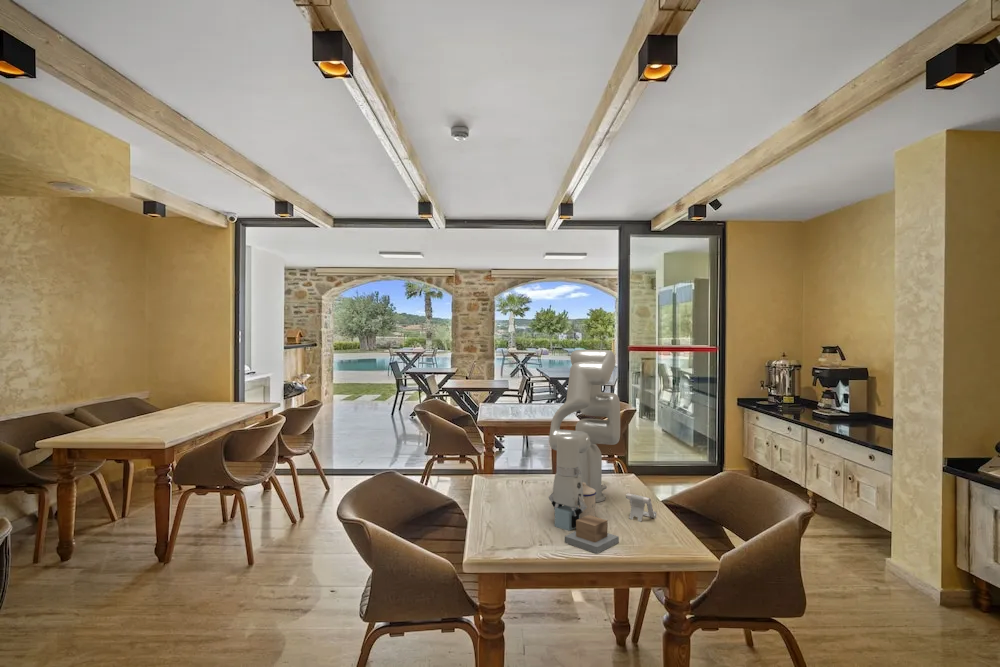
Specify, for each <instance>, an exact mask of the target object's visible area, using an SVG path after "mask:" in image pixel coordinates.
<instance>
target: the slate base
mask: <svg viewBox="0 0 1000 667" xmlns="http://www.w3.org/2000/svg"><path fill="white" fill-rule="evenodd" d="M619 538H620V537H619V535H616V534H612V533H609V532H607V537H605V538H603V539H601V540H599V541H597V542H592V541H589V540H586V539H583V538H580V537H577V536H576V530H575V531H573V532H570V533H569V534H567V535H565V536H564V544H568V545H571V546H573V547H577V548H579V549H582V550H585V551H588V552H591V553H594V554H596V555H598V554H599V553H601V552H604V551H605V550H607V549H610V548H612V547H613V546H615V545H618V544H619V540H620V539H619Z"/></svg>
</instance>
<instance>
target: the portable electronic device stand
mask: <svg viewBox="0 0 1000 667" xmlns="http://www.w3.org/2000/svg"><path fill="white" fill-rule="evenodd" d="M625 499H626V500H629V503H630V511H629V518H628V519H629V520H633V519H634V517H636V518H637V522H640V523H642V521H643V517H648V518H651V519H656V518H657V516H658V514H657V511H654V508H653V504H652V500H651V497H648V496H647V497H646V496H642V495H639V494H635V493H629V492H627V493H626V494H625ZM645 506H646V507H647V511H645ZM633 521H634V520H633Z"/></svg>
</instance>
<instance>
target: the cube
mask: <svg viewBox="0 0 1000 667" xmlns="http://www.w3.org/2000/svg"><path fill="white" fill-rule="evenodd" d="M575 510H576V508H575ZM572 516H573V513H572V509H571V507H569V506H565V505H562V506H561V507H558V508H555V510H554V527H555V528H558V529H562V530H565V531H568V532H570V531H572V530H576V527H575V528H572ZM579 519H580V515H579Z"/></svg>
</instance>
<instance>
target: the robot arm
mask: <svg viewBox="0 0 1000 667" xmlns="http://www.w3.org/2000/svg"><path fill="white" fill-rule="evenodd" d="M570 363H571V366H570V369H569V377H568V383H567V384H568V386H567V392H566V400H565V401H564V403H563V404H562V405H561V406H560V407H559V408H558V409H557V411H556V412H555V413H554V414H553V416H552V419H551V423H550V429H549V438H548V442H549V446H550V448H551V449H552V450H554V451H556V473H554V479H553V486H552V493H551V494H550V495H549V496H548V499H549V501H550V502H551V506H552V507H553V511H555V508H558V507H561V506H564V505H565V506H569V507H571V509H572V513H573V516H572V528H575V527H576V520H578V519H579V515H580V514H581V513H582V512H583V511H584V510H585V509H586V508H587V505H586V504H585V502H584V501H583V486H582V482H584V483H586V485H587V486H589V487H590V488H593V489H595V491H596V494H595V503H599V502H604V501H605V500H606V495H605V494H604V493H603V491H604V490H606V489H607V488H608V487H607V485H606V484H602V477H603V476H602V473H603V472H602V468H603V467H602V464H603V463H602V462H603V461H602V459H603V457H602V452H601V450H600V448H599V447H598V444H599V445H610V446H612V445H617V444H618V443H619V441H620V439H621V438H620V437H621V403H620V397H619V396H618V395H617V394H616V393H613V392H603V391H602V386H607V384H608V383H609V382H610V379H611V378H612V374H613V371H614V369H615V366H616V357H615V353H614V352H613V351H612V350H609V349H608V350H607V349H576V350H572V352H571V354H570ZM578 411H580V412H581V414H583V415H585V416H592V417H605V418H606V419H599V418H582V419H580V420H578V421H577V422H576V424H575V430H571V429H561V424H562V422H563V420H565V418H567V417H568V416H569V415H571V414H573V413H577V412H578ZM579 505H581V507H580V508H579ZM575 508H576V510H575ZM575 529H576V528H575Z"/></svg>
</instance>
